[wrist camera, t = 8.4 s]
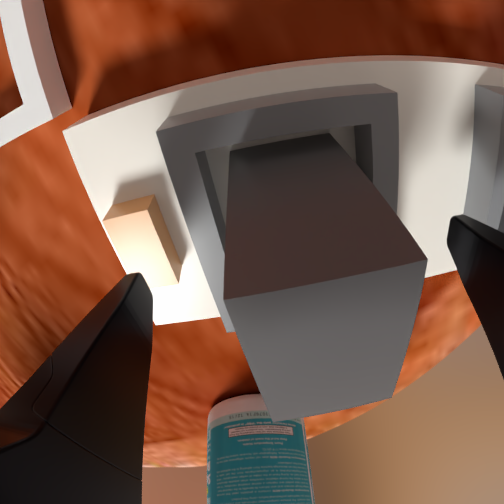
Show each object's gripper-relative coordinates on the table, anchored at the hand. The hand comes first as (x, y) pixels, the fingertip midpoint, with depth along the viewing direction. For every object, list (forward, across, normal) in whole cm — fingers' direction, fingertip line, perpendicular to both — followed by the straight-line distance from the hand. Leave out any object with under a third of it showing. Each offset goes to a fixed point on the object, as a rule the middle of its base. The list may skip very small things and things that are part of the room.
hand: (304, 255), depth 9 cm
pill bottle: (+5, +4, +18) cm, 20 cm away
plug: (+2, 0, 0) cm, 3 cm away
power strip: (+4, -4, 0) cm, 6 cm away
